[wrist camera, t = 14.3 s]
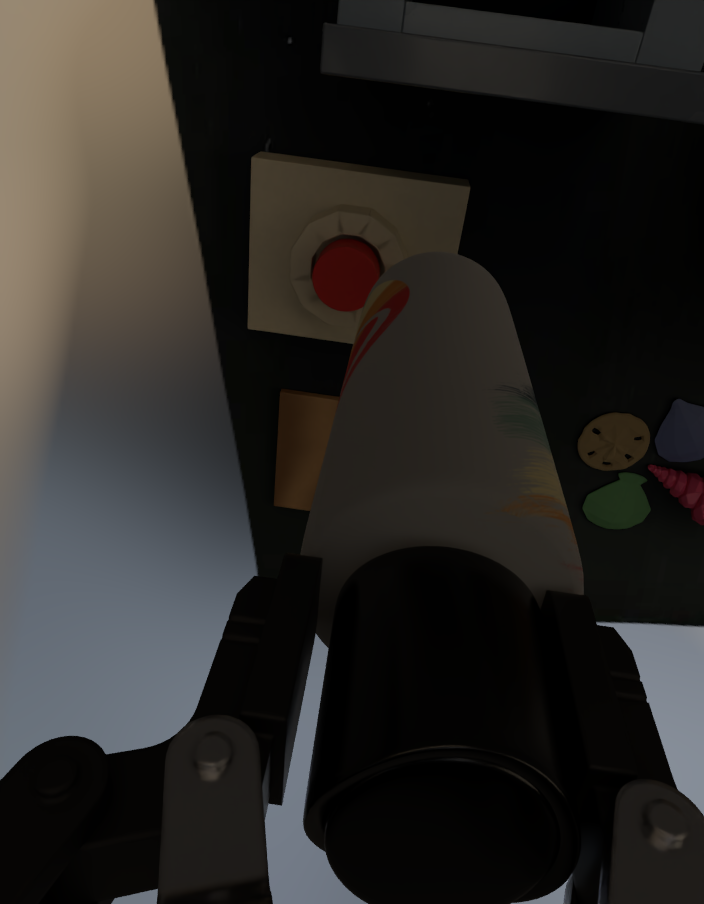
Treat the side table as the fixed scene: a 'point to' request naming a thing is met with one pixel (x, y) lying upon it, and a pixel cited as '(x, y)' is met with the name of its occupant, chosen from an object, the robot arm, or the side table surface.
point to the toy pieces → (677, 440)
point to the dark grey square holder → (531, 54)
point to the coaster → (301, 445)
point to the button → (345, 274)
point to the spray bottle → (440, 606)
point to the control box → (337, 232)
